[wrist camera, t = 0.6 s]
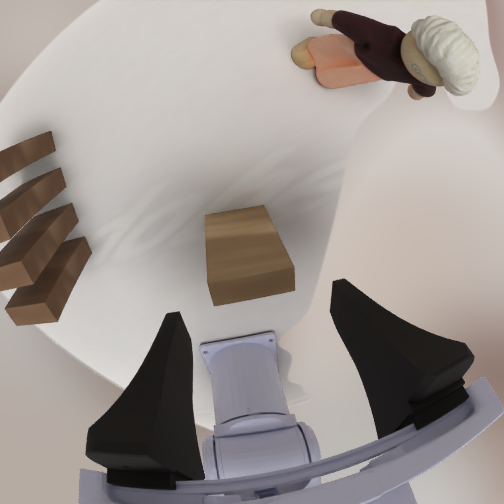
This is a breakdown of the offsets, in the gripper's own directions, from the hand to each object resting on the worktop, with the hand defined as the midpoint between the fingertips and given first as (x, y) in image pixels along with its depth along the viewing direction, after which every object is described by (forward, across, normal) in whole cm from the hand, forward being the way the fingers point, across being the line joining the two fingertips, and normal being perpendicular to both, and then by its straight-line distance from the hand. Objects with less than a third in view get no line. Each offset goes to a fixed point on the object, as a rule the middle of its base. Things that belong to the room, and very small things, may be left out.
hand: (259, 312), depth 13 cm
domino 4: (+10, +14, 0) cm, 18 cm away
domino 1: (+10, +14, -10) cm, 20 cm away
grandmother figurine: (+10, -8, -11) cm, 17 cm away
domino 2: (+10, +14, -6) cm, 19 cm away
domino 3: (+10, +14, -4) cm, 18 cm away
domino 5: (+10, 0, 0) cm, 10 cm away
